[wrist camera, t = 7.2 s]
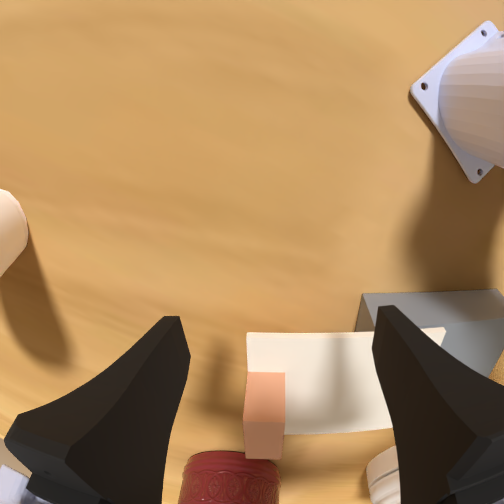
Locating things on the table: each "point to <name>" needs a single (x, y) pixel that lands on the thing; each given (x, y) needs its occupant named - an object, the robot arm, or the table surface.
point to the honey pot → (384, 478)
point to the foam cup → (11, 230)
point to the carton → (449, 321)
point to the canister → (229, 480)
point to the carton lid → (311, 387)
